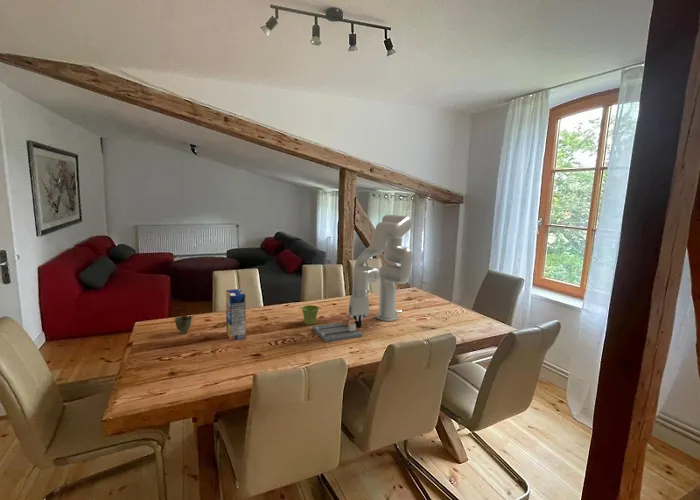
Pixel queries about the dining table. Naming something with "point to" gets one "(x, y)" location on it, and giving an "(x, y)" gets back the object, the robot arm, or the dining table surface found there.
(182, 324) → the cup
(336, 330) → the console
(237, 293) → the beverage box
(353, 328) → the fader ivory
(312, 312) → the plant pot
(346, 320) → the fader rust
